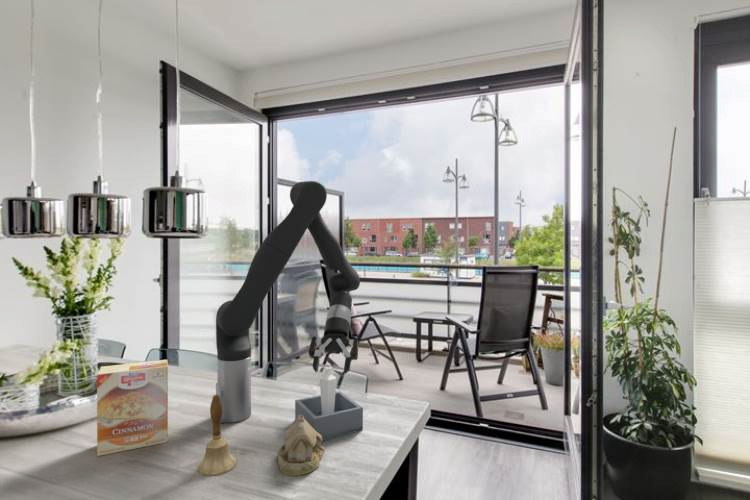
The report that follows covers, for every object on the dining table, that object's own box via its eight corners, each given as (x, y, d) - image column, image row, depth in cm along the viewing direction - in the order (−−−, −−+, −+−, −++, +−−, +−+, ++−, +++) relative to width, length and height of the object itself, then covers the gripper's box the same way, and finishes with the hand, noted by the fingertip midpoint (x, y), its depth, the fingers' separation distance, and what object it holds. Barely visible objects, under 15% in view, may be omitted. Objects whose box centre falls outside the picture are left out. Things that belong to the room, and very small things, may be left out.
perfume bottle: (333, 425, 111) (334, 370, 110) (318, 424, 112) (318, 369, 111) (338, 418, 115) (338, 365, 115) (323, 417, 116) (323, 364, 116)
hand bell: (197, 479, 87) (197, 405, 87) (197, 460, 95) (197, 391, 95) (238, 471, 91) (238, 399, 90) (235, 453, 98) (235, 387, 98)
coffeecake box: (96, 457, 96) (95, 374, 96) (100, 443, 102) (100, 365, 102) (168, 443, 103) (168, 365, 103) (167, 431, 109) (167, 358, 109)
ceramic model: (278, 446, 102) (278, 406, 102) (324, 442, 104) (324, 403, 104) (274, 478, 88) (274, 432, 88) (326, 474, 90) (327, 428, 90)
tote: (314, 442, 104) (314, 418, 104) (295, 421, 116) (295, 400, 116) (362, 429, 111) (362, 407, 111) (340, 411, 123) (340, 391, 123)
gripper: (313, 315, 125) (303, 363, 114) (359, 316, 124) (354, 365, 113) (317, 329, 131) (308, 376, 120) (361, 330, 130) (356, 378, 118)
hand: (330, 371), depth 116 cm, fingers open, 8 cm apart
